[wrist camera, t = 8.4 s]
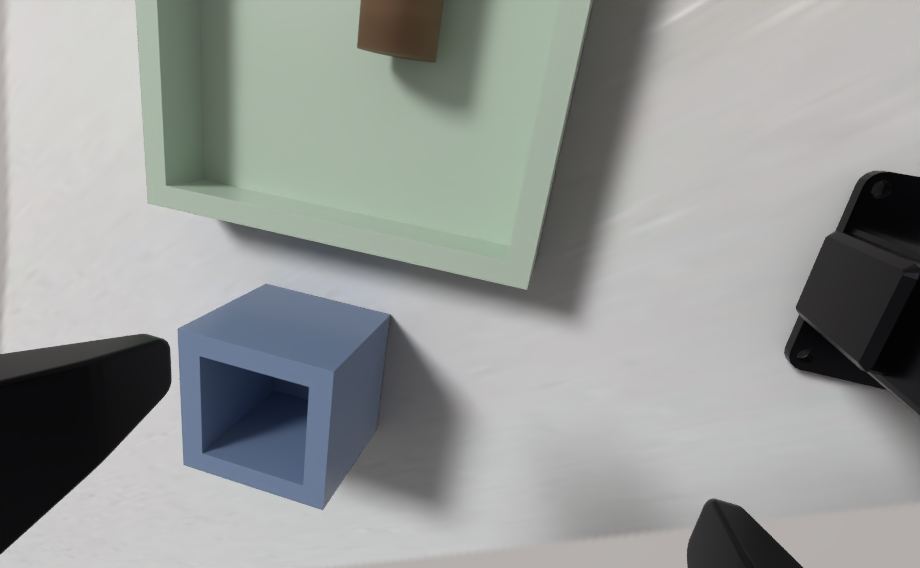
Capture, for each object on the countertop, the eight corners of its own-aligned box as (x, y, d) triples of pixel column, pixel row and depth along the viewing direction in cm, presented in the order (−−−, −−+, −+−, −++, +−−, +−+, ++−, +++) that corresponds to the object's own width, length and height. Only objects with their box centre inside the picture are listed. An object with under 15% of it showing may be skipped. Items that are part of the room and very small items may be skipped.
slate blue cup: (390, 314, 20) (334, 371, 15) (376, 429, 22) (322, 509, 17) (265, 283, 21) (177, 328, 16) (263, 396, 23) (183, 464, 18)
